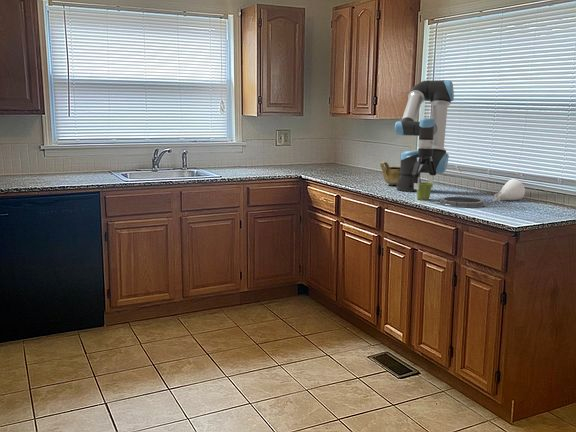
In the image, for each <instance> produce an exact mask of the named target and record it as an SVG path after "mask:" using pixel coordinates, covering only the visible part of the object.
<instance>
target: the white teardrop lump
mask: <svg viewBox="0 0 576 432" xmlns="http://www.w3.org/2000/svg"><path fill="white" fill-rule="evenodd" d="M525 194H526V189H525V185H524V184H523V182H522V181H520V180H518V179H516V178H513V179H509V180H508V181H507V182H506V183H505V184H504V185H503V186H502V188H501V189H500V191H498V192H497V193H495V194H494V195H493V197H494V198H493V199H492V202H493V203H494V202H495V203H496V202H498V203H502V201H504V202H505V201H518V200H522V199H523V198H524V197H525ZM501 200H502V201H501Z"/></svg>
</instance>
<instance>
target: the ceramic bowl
mask: <svg viewBox="0 0 576 432" xmlns="http://www.w3.org/2000/svg"><path fill="white" fill-rule="evenodd" d="M379 165H380V168H381V171H382V178H383V180H384V181H385V182H386V183H387V184H388V185H390V186H392V185H396V186H395V187H397V184H398V181H399V178H400V166H389V164H388V162H387V161H381V162H380V164H379Z"/></svg>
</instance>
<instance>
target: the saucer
mask: <svg viewBox="0 0 576 432" xmlns="http://www.w3.org/2000/svg"><path fill="white" fill-rule="evenodd" d="M438 204H439V205H441V206H443V207H444V206H445V207H451V208H460V209H462V208H463V209H475V208H477V209H479V208H482V207H485V203H484V200H483V199H481V198H476V197H469V196H445V197H441V198H440V200H439V203H438Z"/></svg>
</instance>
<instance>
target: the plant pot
mask: <svg viewBox="0 0 576 432" xmlns="http://www.w3.org/2000/svg"><path fill="white" fill-rule="evenodd" d="M432 185H433V186H434V182H433V183H428V182H425V181H423V182H422V181H421V182H419V190H417V189H416V190H417V192H416V198H417V200H421V201H425V200H426V201H428V200H430V196H431V191H432V190H431V189H432V188H431V187H432Z"/></svg>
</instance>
